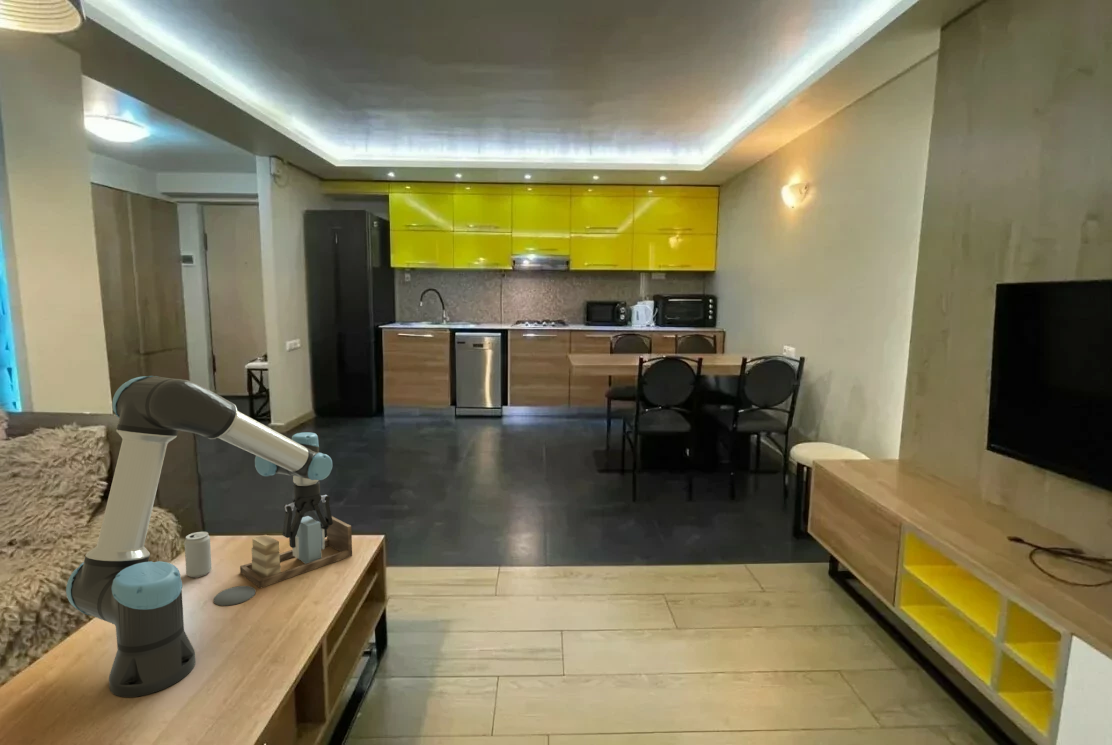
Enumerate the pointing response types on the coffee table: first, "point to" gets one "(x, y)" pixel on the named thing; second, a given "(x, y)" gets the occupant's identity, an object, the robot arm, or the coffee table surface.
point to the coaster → (234, 595)
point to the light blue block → (309, 540)
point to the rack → (336, 538)
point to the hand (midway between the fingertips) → (309, 552)
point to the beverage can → (197, 554)
